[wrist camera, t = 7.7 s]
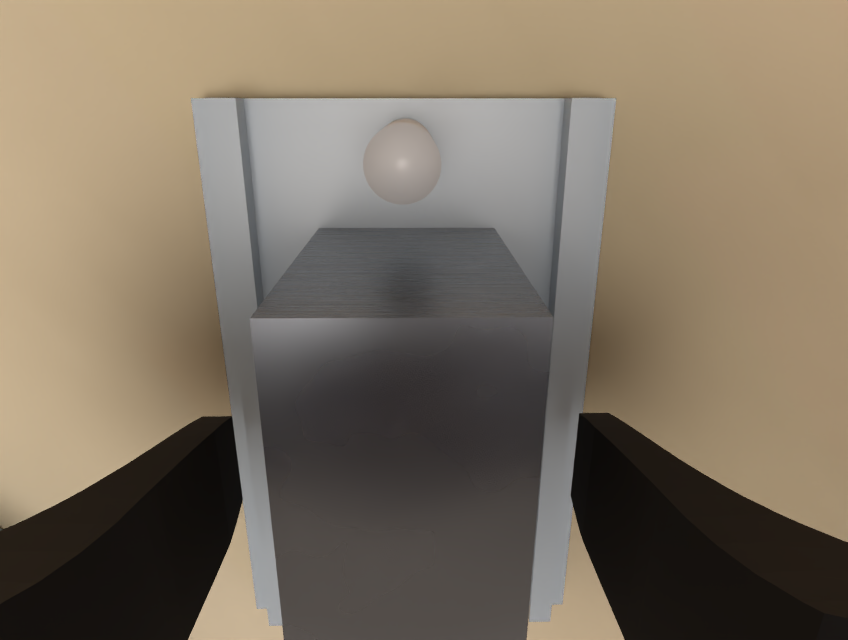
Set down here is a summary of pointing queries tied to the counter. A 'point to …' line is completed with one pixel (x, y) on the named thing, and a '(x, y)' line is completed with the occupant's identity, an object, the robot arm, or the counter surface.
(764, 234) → the counter surface
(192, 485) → the robot arm
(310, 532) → the block
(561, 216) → the tray
